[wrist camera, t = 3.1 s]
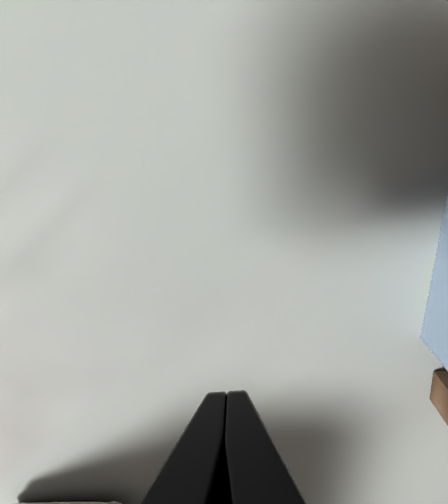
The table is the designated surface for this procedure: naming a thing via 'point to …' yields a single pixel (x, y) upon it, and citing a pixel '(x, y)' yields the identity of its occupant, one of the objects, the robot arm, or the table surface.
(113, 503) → the stereo radio cassette player
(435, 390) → the rack bay
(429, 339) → the crate
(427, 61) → the table surface
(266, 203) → the table surface
